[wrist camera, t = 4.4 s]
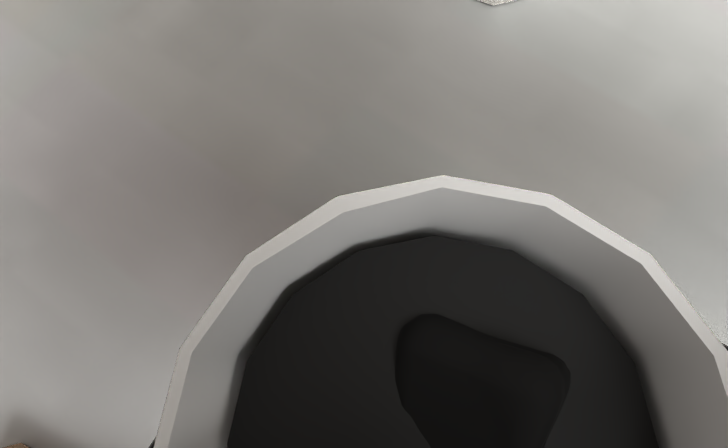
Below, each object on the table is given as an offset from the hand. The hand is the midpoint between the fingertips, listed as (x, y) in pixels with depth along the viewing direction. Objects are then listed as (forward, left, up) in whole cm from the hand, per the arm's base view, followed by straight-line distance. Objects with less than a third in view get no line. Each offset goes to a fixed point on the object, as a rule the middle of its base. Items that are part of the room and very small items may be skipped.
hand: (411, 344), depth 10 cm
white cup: (-1, -1, -7) cm, 7 cm away
